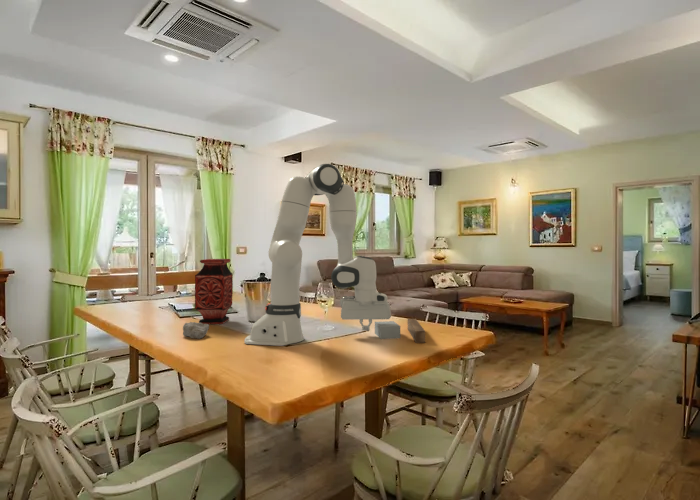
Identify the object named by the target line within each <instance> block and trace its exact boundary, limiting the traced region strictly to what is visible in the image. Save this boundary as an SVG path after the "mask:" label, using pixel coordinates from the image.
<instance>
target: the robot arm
mask: <svg viewBox="0 0 700 500" xmlns="http://www.w3.org/2000/svg"><path fill="white" fill-rule="evenodd" d="M322 195H325V197H326V198H327V200H328V205H329V211H328V212H329V213H328V214H329V215H328V216H329V218H328V219H329V223H330V227H331V230H332V232H333V234H334V236H335V239H336V242H337V264H336V267H335V268H334V269H333V270H332V271H331V277H330V279H331V282H332V284H333V285H334V286H335V287H337V288H339V289H348V288H351V287H352V288H353V287H354V295H351V296H346V295H345V296H343V297H341V298H340V299H339V305H340V307H341V309H340V318H341V320H344V321H345V320H357V321H359V324H360V326H361V327H362V328H361V331H365V332H366V331H368V332H370V326H371V324H373V320H390V319H391V317H392V311H391V305H390V303H389V301H388V296H387V294H386V293H382V292H379V291H377V290H378V289H377V285H376V281H377V263H376V262H375V260H374V259H373V258H372V257H370V256H365V255H357V256H356V257H354V254H353V240H354V234H355V229H356V226H357V213H358V212H357V199H356V194H355V191H354V188H353V187H352V186H351V185H349V184H346V183H345V181H344V179H343V178H342V176H341V173H340V171H339V170H338V168H337V167H336V166H335V165H334V164H331V163H323V164H320V165H318V166H316V167H314V168H313V169H312V170H311V171H310V172H308V174H307V175H306V176H305V177H303V176H294V177H291V178H290V179H289V180H288V181H287V184H286V187H285V189H284V193H283V196H282V199H281V204H280V208H279V211H278V217H277V220H276V225H275V227H274V231H273V233H272V236H271V237H272V238H271V240H270V244H269V248H268V258H269V260H270V262H271V275H270V276H271V277H270V302H269V303H267V304H266V306H265V307H264V308H265V314H264V315H262V316H261V317H260V318H259V319H258V320H256V321H255V322H254V323H253V324H252V326H251V330H250V334H249V335H247V336H246V337H244V344H246V345H261V346H262V345H263V346H282V347H283V346H286V345H289V344H291V345H292V344H296V343H299V342H301V341H304V340H305V337H304V334H303V330H302V324H301V315H302V306H301V303H300V280H301V274H302V273H301V272H302V263H303V262H302V258H303V250H302V248H301V246H300V244H301V239H302V237H303V233H304V231H305V229H306V226H307V222H308V217H309V214H310V213H309V212H310V208H311V207H310V206H311V203H312V200H313V197H314V196H322ZM353 257H354V258H353ZM364 320H368V324H367V325H364V323H363V322H364Z"/></svg>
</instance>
